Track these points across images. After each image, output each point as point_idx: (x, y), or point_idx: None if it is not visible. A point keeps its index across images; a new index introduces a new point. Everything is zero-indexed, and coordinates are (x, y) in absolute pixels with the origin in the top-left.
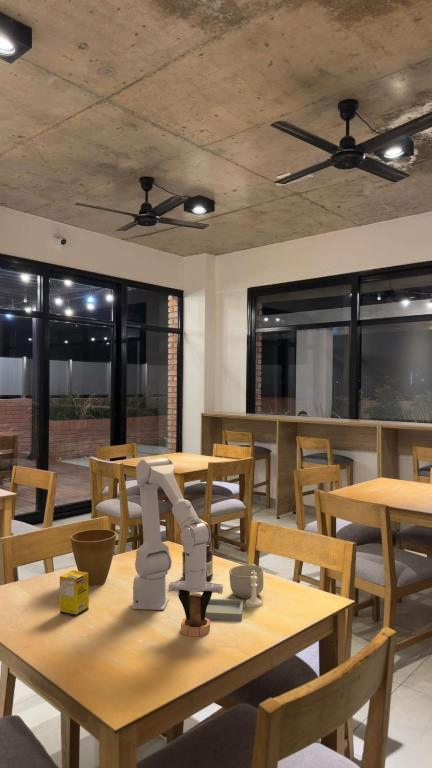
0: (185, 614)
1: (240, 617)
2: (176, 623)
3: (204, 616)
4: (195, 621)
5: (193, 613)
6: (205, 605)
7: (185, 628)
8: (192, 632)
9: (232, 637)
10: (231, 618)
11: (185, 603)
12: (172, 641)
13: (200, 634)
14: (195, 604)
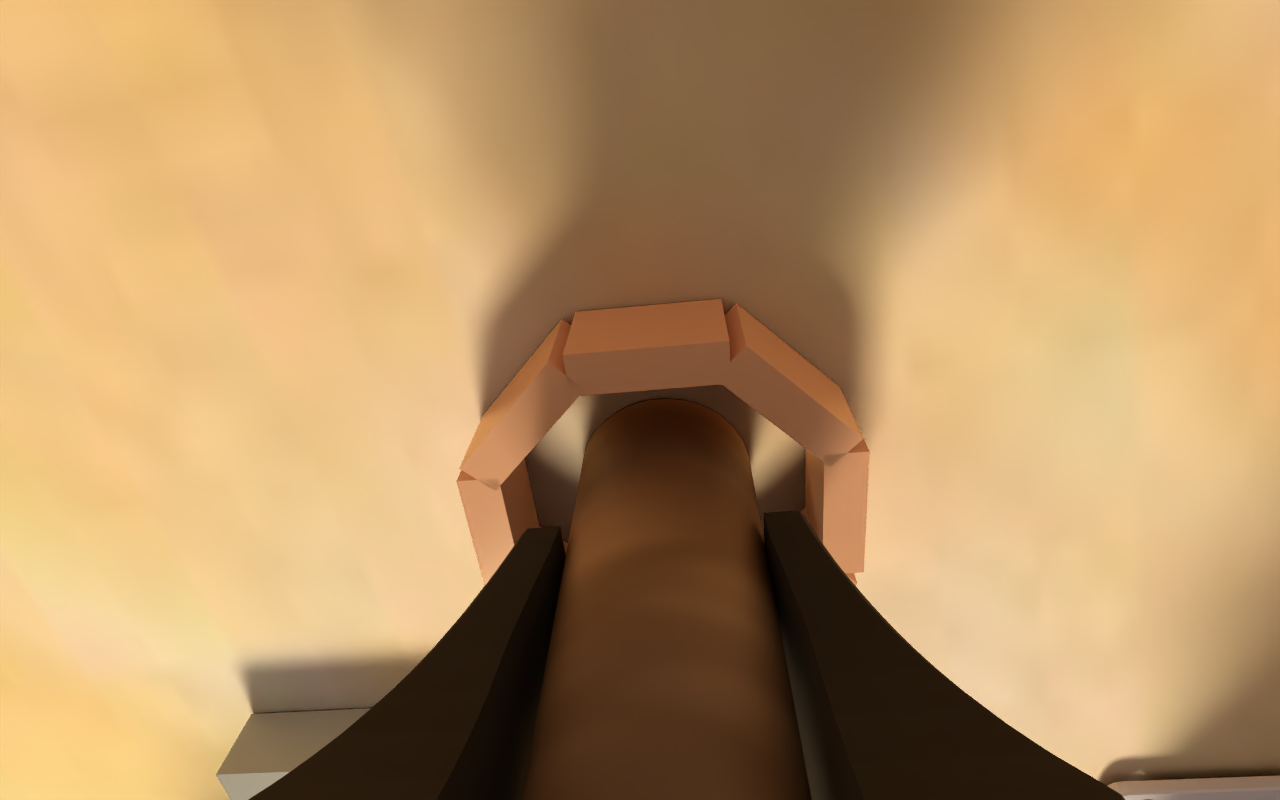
0: (828, 554)
1: (249, 739)
2: (930, 567)
3: (502, 563)
4: (645, 482)
5: (678, 561)
6: (409, 703)
7: (780, 363)
8: (664, 322)
9: (156, 364)
10: (346, 721)
11: (877, 702)
12: (928, 82)
13: (556, 332)
14: (635, 707)
